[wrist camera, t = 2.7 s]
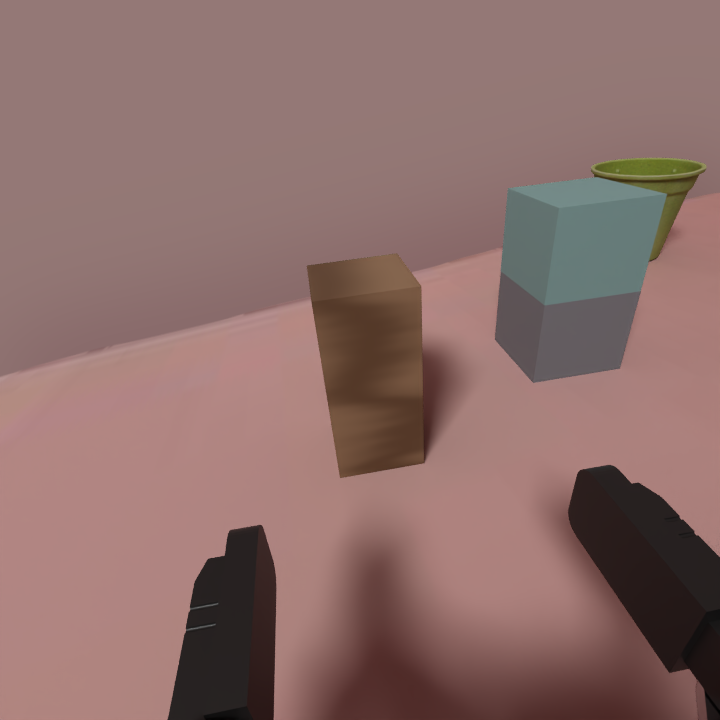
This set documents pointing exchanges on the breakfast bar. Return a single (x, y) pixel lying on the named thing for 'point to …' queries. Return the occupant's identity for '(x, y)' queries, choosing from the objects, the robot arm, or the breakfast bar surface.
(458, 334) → the breakfast bar surface
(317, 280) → the walnut pillar
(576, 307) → the tower base
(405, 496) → the breakfast bar surface
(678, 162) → the plant pot
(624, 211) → the tower top
